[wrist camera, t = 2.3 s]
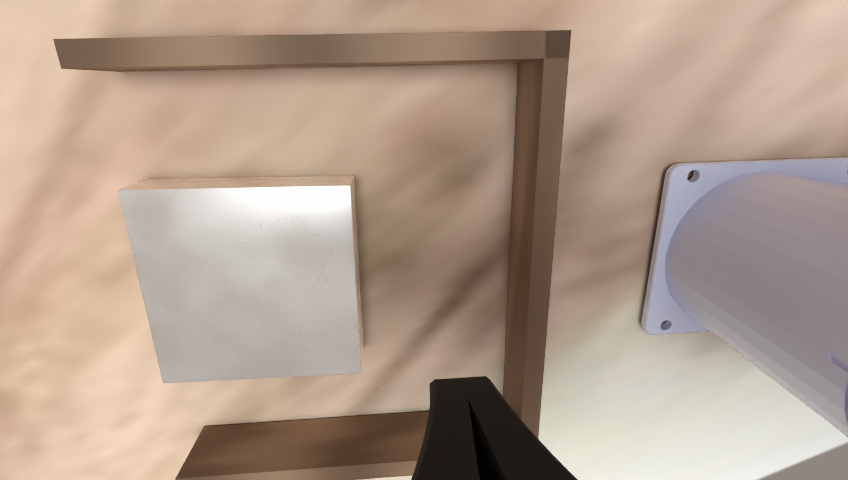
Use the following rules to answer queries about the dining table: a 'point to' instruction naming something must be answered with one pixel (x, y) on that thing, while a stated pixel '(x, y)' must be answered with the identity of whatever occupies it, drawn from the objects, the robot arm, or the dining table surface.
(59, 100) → the dining table surface
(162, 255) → the cover plate
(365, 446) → the brown u-shaped frame
